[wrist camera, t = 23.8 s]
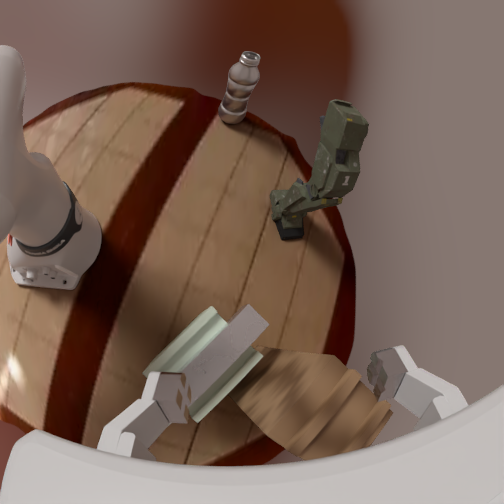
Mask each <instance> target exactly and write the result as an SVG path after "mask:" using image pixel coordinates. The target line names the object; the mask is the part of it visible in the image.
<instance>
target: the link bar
mask: <svg viewBox="0 0 504 504" xmlns="http://www.w3.org/2000/svg"><path fill="white" fill-rule="evenodd" d="M268 325H269V324H268V323H267V322H266V321H265V320H264V319H263V318H262V317H261V316H260V315H259V314H258V313H257V312H256V311H255V310H254V309H253V308H252V307H251V306H250V305H249V304H247V305H244V306H242V307H241V308H240V309H239V310H238V311H237V312H236V313H235V314H234V315H233V316H232V317H231V318H230V319H229V321H228V322H227V323H226V324H225V325H224V326H223V327H222V328H221V329H220V330H219V331H218V332H217V333H216V334H215V335H214V336H213V337H212V338H211V339H210V340H209V341H208V342H207V343H206V344H205V345H204V346H203V347H202V348H201V349H200V350H199V351H198V352H197V353H196V354H194V355H193V356H192V357H191V358H190V359H189V360H188V361H187V362H186V363H185V364H184V365H183V366H182V367H181V368H180V369H179V370H178V371H177V372H178V373H185V376H186V382H187V383H188V384H189V385H190V388H191V404H190V405H189V406H191V405H192V404H193V403H194V402H195V401H196V400H197V399H198V398H199V397H200V396H201V395H202V394H203V393H204V392H205V391H206V390H207V389H208V388H209V387H210V386H211V385H212V384H213V383H214V382H215V381H216V380H217V379H218V378H219V377H220V376H221V375H222V374H223V373H224V372H225V371H226V370H227V369H228V368H229V367H230V366H231V365H232V364H233V363H234V362H235V361H236V360H237V359H238V358H239V357H240V356H241V354H242V353H243V352H244V351H245V350H246V349H247V348H248V347H249V346H250V345H251V344H252V343H253V342H254V341H255V340H256V339H257V337H258V336H259V335H260V334H261V333H262V332H263V331H264V330H265V329H266V328H267V327H268ZM189 406H188V407H189ZM170 424H171V423H170ZM170 424H169V425H170ZM169 425H168V426H169ZM168 426H167V427H168ZM167 427H166V428H167Z"/></svg>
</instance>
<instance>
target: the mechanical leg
mask: <svg viewBox="0 0 504 504" xmlns="http://www.w3.org/2000/svg"><path fill="white" fill-rule="evenodd" d="M351 104H352V103H350V102H345V101H341V100H337V99H335V100H332V101H330V102H329V106H328V109H327V113H326V116H321V117H320V124H321V141H320V142H319V145H318V149H317V153H316V158H315V162H314V166H313V169H312V177H311V179H310V180H309V182H307V183H303V181H302V180H301V179H299V178H297V181H296V182H295V183H294V184H293V185H292V186H291V188H290V189H289V190H272V191H271V193H270V199H271V203H272V211H273V214H272V220H275V223H276V226H277V229H278V232H279V234H280V237H281V239H282V240H288V239H297V238H302V237H303V235H304V229H303V217H305V216H306V215H307V212H312V211H315V210H318V209H322V208H325V207H329V206H336V205H339V204H341V203H342V199H343V198H342V197H343V196H345V195H346V194H347V193H349V192H350V191H352V190H353V188H354V185H355V183H356V181H357V178H358V176H359V173H360V163H359V151H360V150H361V147H362V144H363V141H364V138H365V137H366V135H367V133H368V126H369V124H368V122H367V121H366V119H365V118H364V117H363V116H362V115H361V114H360V113H359V111H358V110H357V109H356V108H355V107H354V106H350V105H351ZM333 197H338V199H330V198H333Z"/></svg>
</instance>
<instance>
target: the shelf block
mask: <svg viewBox="0 0 504 504" xmlns="http://www.w3.org/2000/svg"><path fill="white" fill-rule="evenodd" d="M226 323H227V322H226V321H225V320H224V319H223V318H222V317H221V316H220V315H219V314H218V313H217V311H216V310H215V309H214V308H213V307H212V306H211V307H209V308H208V309H206V310H205V311H203V312H202V313H201V314H199V315H198V316H197V317H196V318H195V319H194V320H193V321H192V322H191V323H190V324H189V325H188V326H187V327H186V328H185V329H184V330H183V331H182V332H181V333H180V334H179V335H178V336H177V337H176V338H175V339H174V340H173V341H172V342H171V343H170V344H168V345H167V346H166V347H165V348H164V349H163V350H162V351H161V352H160V353H159V354H158V355H157V356H156V357H155V358H154V359H153V360H152V361H151V363H150V364H149V365H148V366H147V368H146V369H145V370H144V371H143V374H144V375H145V376H146V377H147V378H148V375H149V373H150V372H151V371H156V372H177V371H178V370H179V369H180V368H181V367H182V366H183V365H184V364H185V363H186V362H187V361H188V360H189V359H190V358H191V357H192V356H193V355H194V354H196V353H197V352H198V351H199V350H200V349H201V348H202V347H203V346H204V345H205V344H206V343H207V342H208V341H209V340H210V339H211V338H212V337H213V336H214V335H215V334H216V333H217V332H218V331H219V330H220V329H221V328H222V327H223V326H224V325H225V324H226ZM262 357H263V355H262V354H261V353H260V352H259V351H256V350H255V349H254V348H253V347H251V346H249V347H248V348H247V349H246V350H245V351H244V352H243V353H242V354H241V356H240V357H239V358H238V359H237V360H236V361H235V362H234V363H233V364H232V365H231V366H230V367H229V368H228V369H227V370H226V371H225V372H224V373H223V374H222V375H221V376H220V377H219V378H218V379H217V380H216V381H215V382H214V383H213V384H212V385H211V386H210V387H209V388H208V389H207V390H206V391H205V392H204V393H203V394H202V395H201V396H200V397H199V398H198V399H197V400H196V401H195V402H194V403H193V404H192V405H191V406H189V407H188V409H189V411H190V412H189V414H190V415H191V418H192V419H193V420H195V421H196V422H197V423H198V422H199V421H200V420H201V419H203V418H204V417H205V416H206V415H207V414H208V413H209V412H210V411H211V410H212V409H213V408H214V407H215V406H216V405H217V404H218V403H219V402H220V401H221V400H222V399H223V398H224V397H225V396H226V395H227V394H228V393H229V392H230V391H231V390H232V389H233V388H234V387H235V386H236V385H237V384H238V383H239V382H240V381H241V380H242V379H243V378H244V377H245V376H246V374H247V373H248V372H249V371H250V370H251V369H252V368H253V367H254V366H255V365H256V364H257V363H258V362H259V361H260V359H261V358H262Z"/></svg>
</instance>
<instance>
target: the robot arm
mask: <svg viewBox="0 0 504 504" xmlns="http://www.w3.org/2000/svg"><path fill="white" fill-rule="evenodd" d="M25 91H26V77H25V69H24V64H23V60H22V57H21V55H20V54H19V53H18V52H17V50H15V49H14V48H12V47H10V46H5V45H0V244H1V242H2V241H3V240H4V239H5V238H6V237H7V235H8V237H7V254H8V260H9V263H10V270H11V274H12V277H13V279H14V281H15V283H17V284H19V285H25V286H34V287H44V288H54V289H65V290H73V289H75V288H76V286H77V284H78V282H79V280H80V278H81V276H82V274H83V273H84V272H85V271H86V270H87V269H88V268H89V267H90V266H91V265H92V264H93V262H94V261H95V259H96V257H97V255H98V253H99V250H100V246H101V238H102V236H101V228H100V225H99V222H98V220H97V219H96V217H95V216H94V215H93V214H92V213H91V212H90V211H88V210H86V209H85V208H83V207H82V206H81V205H80V204H79V203H78V201H77V199H76V197H75V195H74V194H73V192H72V191H71V189H70V188H69V187H68V185H67V184H66V183H65V182H64V181H62V180H61V178H60V176H59V175H58V173H57V171H56V170H55V168H54V166H53V165H52V163H51V161H50V159H49V158H48V157H46V156H45V155H43V154H41V153H37V152H32V153H29V152H28V150H27V147H26V144H25V140H24V134H23V116H22V114H23V105H24V98H25ZM14 270H16V271H15V272H14ZM65 281H67V283H66V284H64V282H65ZM371 360H372V362H371V363H370V364H369V365H368V369H367V376H368V380H369V383H370V384H371V385H373V386H374V390H373V392H374V395H375V397H376V399H377V402H380V401H384V400H387V399H391V398H394V399H395V400H396V401H398V402H399V403H400V404H402V405H403V406H404V407H406V408H407V409H408V410H410V411H411V412H412V413H413V414H415V415H416V416H417V417H419V418H420V420H419V421H418V423H417V424H416V426H415V427H414V432H411V433H409V434H406V435H403V436H400V437H398V438H395V439H392V440H389V441H386V442H383V443H380V444H377V445H373V446H369V447H366V448H362V449H359V450H355V451H351V452H347V453H342V454H338V455H333V456H328V457H323V458H318V459H312V460H305V461H299V462H292V463H282V464H273V465H258V466H196V465H183V464H173V463H164V462H157V461H156V458H155V456H154V455H153V454H152V453H151V452H150V451H149V450H148V448H149V447H150V446H151V445H152V444H153V442H154V441H155V440H156V439H157V438H158V437H159V436H160V434H161V433H162V432H163V431H164V430H165V429H166V427H167V426H168V425H169V424H170V423H188V418H189V412H190V411H189V409H188V406H189V405H190V404H191V388H190V385H189V384H188V383H187V382H186V376H185V373H178V372H156V371H151V372H150V373H149V375H148V379H147V382H146V385H145V388H144V391H143V394H142V398H141V399H137V400H136V401H135V402H134V403H133V404H131V405H130V406H129V407H128V408H127V409H125V410H124V411H123V412H122V413H121V414H119V415H118V416H117V417H116V418H114V419H113V420H112V421H111V422H110V423H108V424H107V425H106V426H105V427H104V429H103V431H102V434H101V437H100V440H99V443H98V446H97V449H94V448H91V447H87V446H84V445H81V444H78V443H74V442H71V441H68V440H66V439H63V438H60V437H57V436H55V435H52V434H50V433H47V432H45V431H42V430H33V431H31V432H30V433H28V434H27V435H25V436H24V437H22V438H21V439H19V440H18V441H17V442H16V443H15V445H14V447H13V449H12V452H11V454H10V458H9V460H8V463H7V466H6V470H5V474H4V477H3V482H2V487H1V492H0V504H504V384H503V385H501V386H500V387H498V388H497V389H496V390H494V391H492V392H491V393H489V394H488V395H486V396H485V397H483V398H481V399H479V400H478V401H476V402H474V403H472V404H471V405H468V404H467V402H466V400H465V399H464V397H463V395H462V394H461V392H460V390H459V389H458V387H456V386H454V385H452V384H450V383H448V382H446V381H444V380H443V379H441V378H439V377H437V376H435V375H433V374H431V373H429V372H427V371H425V370H423V369H422V368H419V369H418V368H417V366H416V364H415V363H414V361H413V360H412V358H411V356H410V355H409V353H408V352H407V350H406V348H405V347H404V346H403V345H401V346H397V347H393V348H388V349H384V350H380V351H376V352H373V353H372V354H371Z"/></svg>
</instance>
